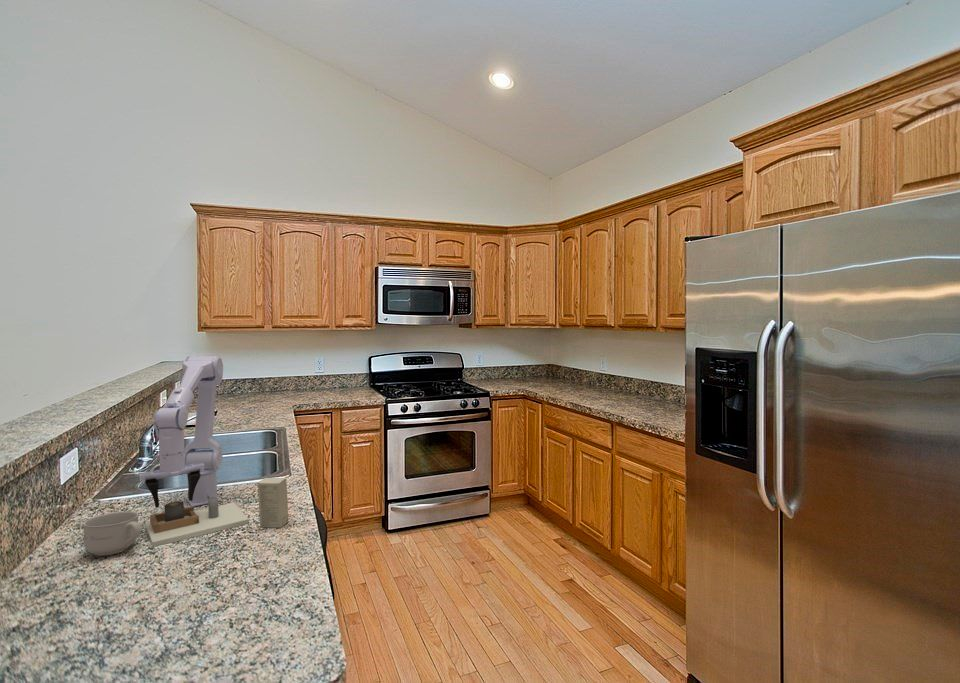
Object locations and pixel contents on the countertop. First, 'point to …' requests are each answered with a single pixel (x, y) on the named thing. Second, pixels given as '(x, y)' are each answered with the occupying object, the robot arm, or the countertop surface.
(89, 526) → the teacup
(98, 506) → the countertop surface
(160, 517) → the board
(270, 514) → the skincare box
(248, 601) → the countertop surface
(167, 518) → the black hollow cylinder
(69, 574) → the countertop surface
